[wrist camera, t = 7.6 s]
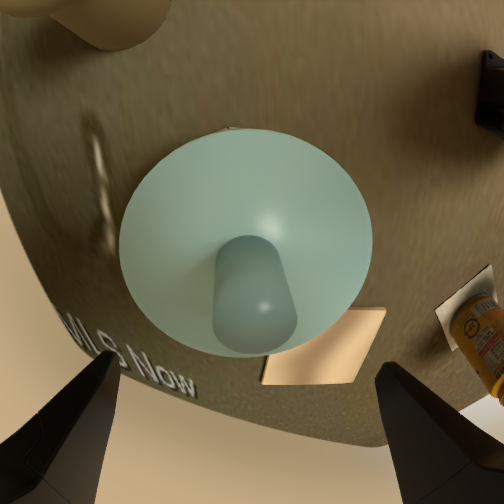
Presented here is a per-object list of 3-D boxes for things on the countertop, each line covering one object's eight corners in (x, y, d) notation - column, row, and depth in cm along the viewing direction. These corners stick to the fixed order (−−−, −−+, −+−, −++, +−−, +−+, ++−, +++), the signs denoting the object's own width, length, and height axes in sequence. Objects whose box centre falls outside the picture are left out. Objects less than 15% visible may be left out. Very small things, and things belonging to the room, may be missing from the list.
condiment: (451, 350, 29) (501, 430, 18) (434, 309, 26) (501, 404, 15) (498, 311, 27) (556, 381, 16) (489, 262, 24) (568, 340, 13)
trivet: (384, 306, 25) (386, 310, 24) (351, 378, 29) (352, 382, 28) (280, 302, 23) (280, 306, 23) (261, 380, 28) (262, 384, 27)
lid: (392, 154, 14) (455, 183, 10) (331, 350, 20) (353, 413, 15) (124, 119, 13) (72, 132, 8) (132, 338, 19) (112, 404, 14)
